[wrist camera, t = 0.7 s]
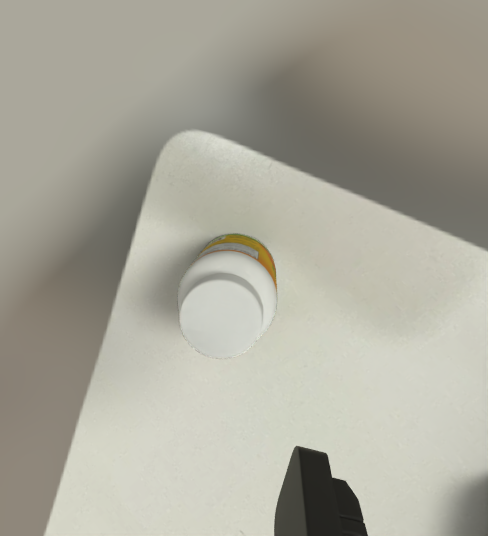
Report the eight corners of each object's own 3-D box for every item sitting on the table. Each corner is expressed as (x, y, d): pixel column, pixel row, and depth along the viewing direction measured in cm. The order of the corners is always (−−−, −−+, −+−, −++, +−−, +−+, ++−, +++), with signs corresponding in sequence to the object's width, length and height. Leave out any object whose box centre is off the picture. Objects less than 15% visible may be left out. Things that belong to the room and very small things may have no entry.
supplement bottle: (267, 315, 30) (265, 383, 21) (191, 300, 30) (156, 361, 21) (283, 240, 29) (289, 277, 20) (204, 225, 29) (172, 254, 20)
